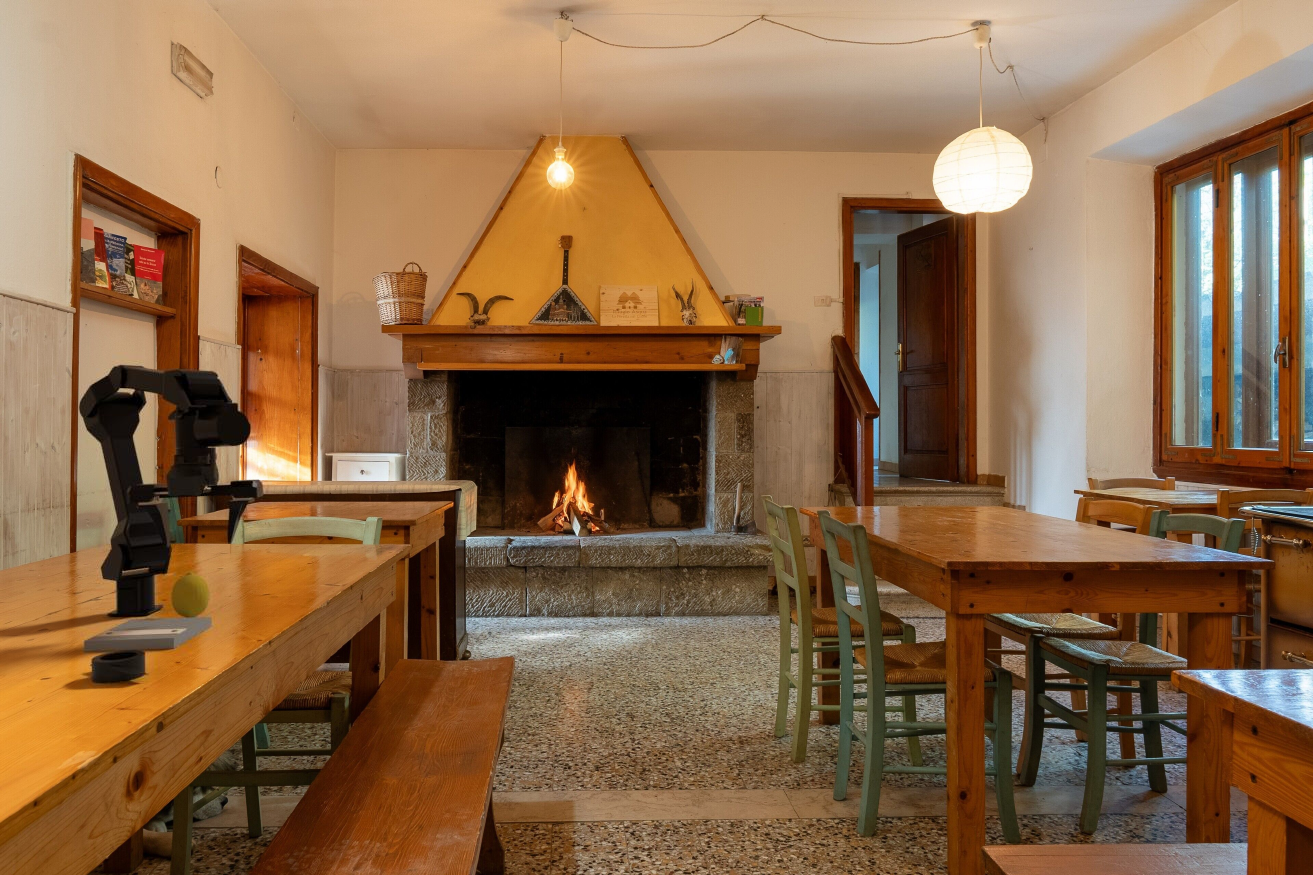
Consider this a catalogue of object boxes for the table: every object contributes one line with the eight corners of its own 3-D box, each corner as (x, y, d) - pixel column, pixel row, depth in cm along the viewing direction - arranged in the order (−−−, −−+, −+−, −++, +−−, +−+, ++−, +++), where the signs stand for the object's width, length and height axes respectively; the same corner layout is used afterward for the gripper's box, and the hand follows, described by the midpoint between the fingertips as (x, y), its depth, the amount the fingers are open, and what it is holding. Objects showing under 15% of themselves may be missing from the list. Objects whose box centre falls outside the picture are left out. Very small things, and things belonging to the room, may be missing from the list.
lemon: (198, 624, 140) (198, 574, 140) (164, 624, 140) (163, 574, 140) (216, 616, 145) (215, 569, 145) (183, 616, 146) (183, 569, 145)
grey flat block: (131, 628, 137) (130, 618, 137) (211, 626, 138) (211, 615, 138) (84, 651, 123) (83, 639, 123) (174, 648, 125) (173, 636, 125)
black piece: (158, 665, 117) (158, 643, 117) (148, 685, 107) (147, 662, 107) (91, 672, 114) (90, 650, 114) (74, 693, 104) (73, 669, 104)
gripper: (112, 450, 130) (115, 554, 130) (248, 445, 134) (251, 547, 134) (137, 449, 140) (140, 546, 140) (262, 446, 145) (265, 539, 145)
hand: (198, 545), depth 140 cm, fingers open, 9 cm apart
